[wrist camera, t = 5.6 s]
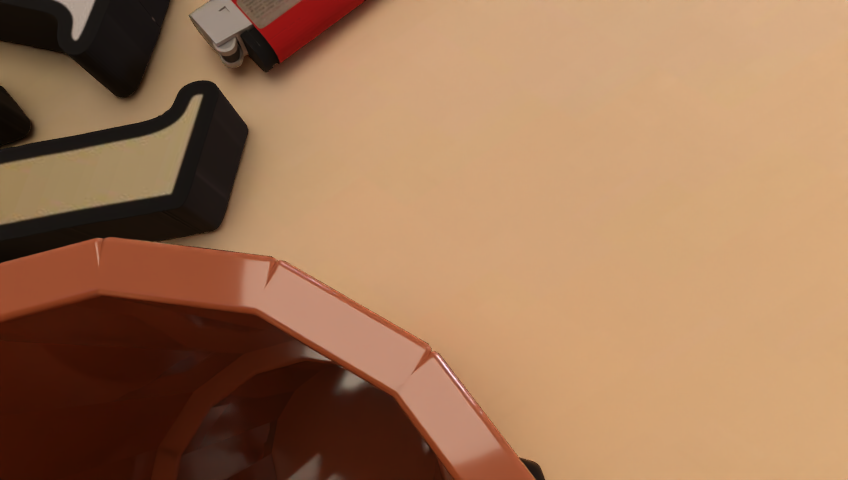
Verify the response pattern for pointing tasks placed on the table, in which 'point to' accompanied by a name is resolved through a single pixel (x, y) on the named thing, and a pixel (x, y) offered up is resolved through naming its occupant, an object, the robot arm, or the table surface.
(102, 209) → the decorative sign
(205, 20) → the lighter
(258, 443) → the terracotta tube
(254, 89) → the table surface
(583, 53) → the table surface
